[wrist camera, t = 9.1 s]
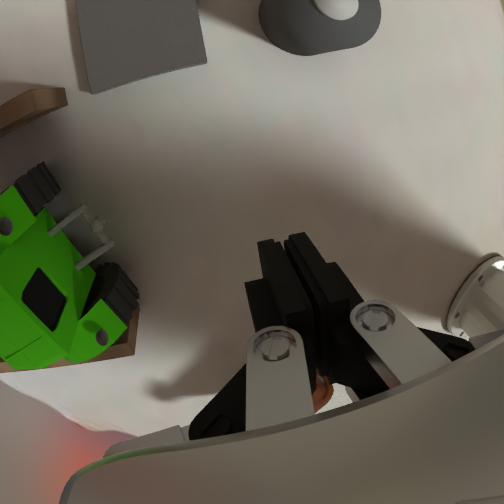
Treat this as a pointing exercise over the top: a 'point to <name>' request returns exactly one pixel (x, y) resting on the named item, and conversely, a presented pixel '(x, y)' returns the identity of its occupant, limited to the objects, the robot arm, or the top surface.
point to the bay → (14, 117)
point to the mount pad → (138, 39)
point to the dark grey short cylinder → (319, 24)
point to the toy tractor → (54, 282)
